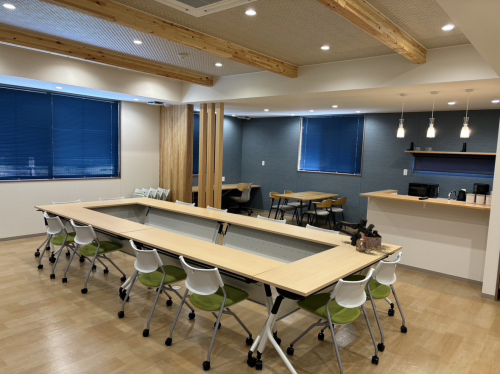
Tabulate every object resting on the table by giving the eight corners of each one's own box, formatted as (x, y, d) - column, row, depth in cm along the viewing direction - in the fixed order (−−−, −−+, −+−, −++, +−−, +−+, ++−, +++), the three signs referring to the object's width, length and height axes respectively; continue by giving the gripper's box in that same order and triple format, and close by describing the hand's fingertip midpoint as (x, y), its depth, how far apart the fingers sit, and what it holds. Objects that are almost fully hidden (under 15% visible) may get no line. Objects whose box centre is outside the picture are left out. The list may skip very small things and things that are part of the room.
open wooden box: (355, 251, 325) (356, 239, 324) (361, 251, 326) (363, 239, 325) (359, 253, 319) (360, 241, 318) (365, 253, 320) (366, 241, 319)
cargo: (357, 250, 324) (357, 246, 324) (361, 250, 325) (361, 246, 325) (359, 251, 320) (360, 247, 320) (363, 251, 321) (364, 247, 321)
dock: (359, 250, 330) (359, 248, 329) (364, 247, 339) (364, 246, 339) (368, 252, 324) (368, 250, 324) (373, 249, 333) (373, 248, 333)
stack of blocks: (375, 243, 357) (376, 232, 356) (381, 245, 352) (382, 233, 351) (362, 246, 345) (363, 234, 343) (367, 248, 340) (369, 235, 338)
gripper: (362, 222, 325) (377, 229, 314) (372, 222, 337) (386, 229, 326) (358, 233, 327) (373, 240, 315) (368, 233, 339) (382, 240, 328)
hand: (379, 237), depth 321 cm, fingers open, 9 cm apart
